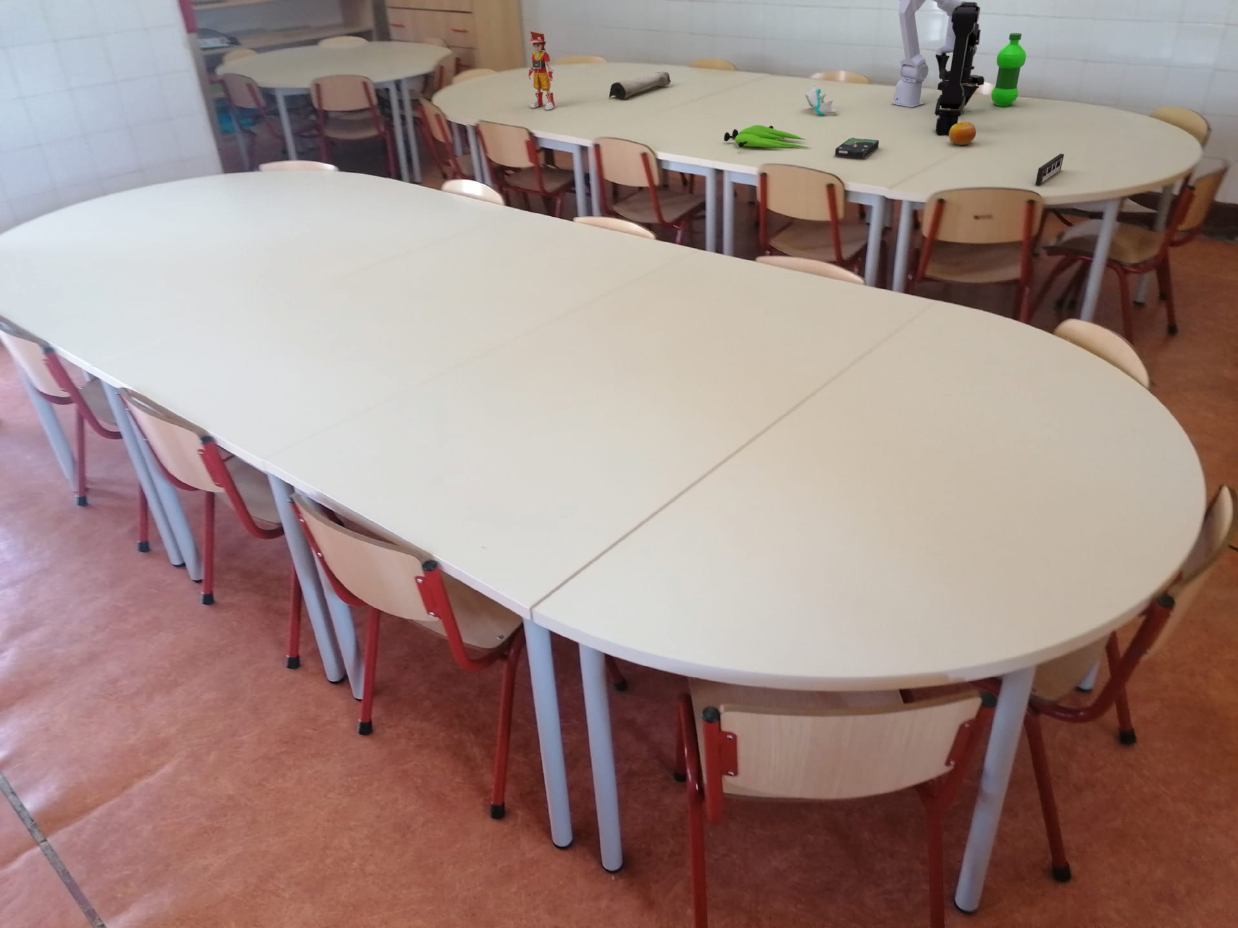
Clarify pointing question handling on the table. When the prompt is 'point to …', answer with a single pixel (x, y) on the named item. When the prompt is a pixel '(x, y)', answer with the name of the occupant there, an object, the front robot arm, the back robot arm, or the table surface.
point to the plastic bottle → (1008, 71)
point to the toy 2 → (761, 137)
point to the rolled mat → (638, 84)
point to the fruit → (962, 133)
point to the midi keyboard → (1049, 169)
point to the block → (960, 106)
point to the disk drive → (856, 148)
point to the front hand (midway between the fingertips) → (957, 107)
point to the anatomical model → (819, 102)
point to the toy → (541, 71)
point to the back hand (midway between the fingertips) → (948, 72)
